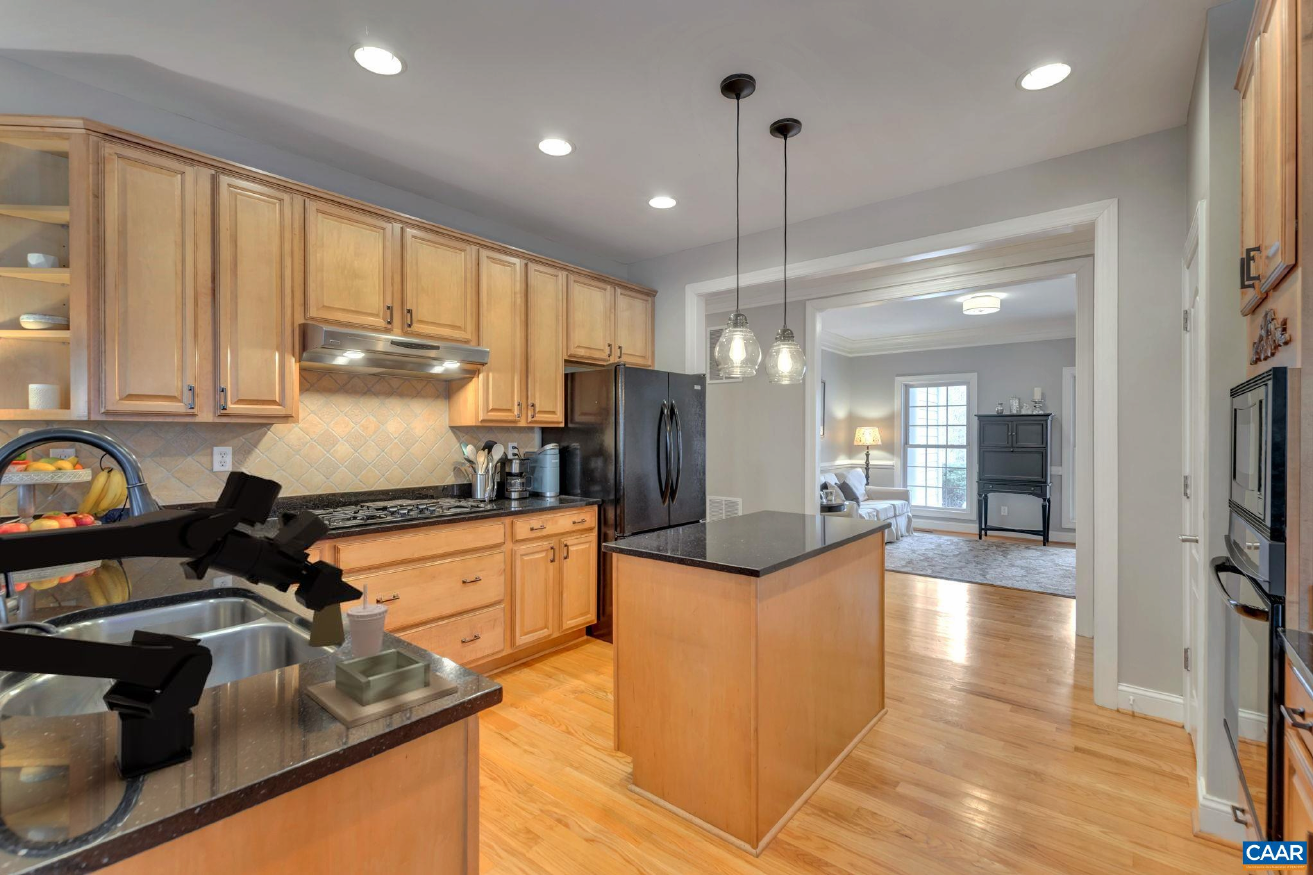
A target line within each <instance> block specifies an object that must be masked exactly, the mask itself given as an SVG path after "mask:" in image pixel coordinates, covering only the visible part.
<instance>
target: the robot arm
mask: <svg viewBox="0 0 1313 875" xmlns="http://www.w3.org/2000/svg"><path fill="white" fill-rule="evenodd" d="M282 489H283V485H282V484H280V483H279V482H277V481H276V480H274V479H270V478H268V479H267V478H264V477H262V476H258V475H254V474H249V473H247V472H244V471H240V470H232V471H230V472H229V473H228V476H227V478H226V481H225V485H224V487H223V489H222V491H221V493H220V495H219V497H218V498H217V500H216V502H215V505H214V507H208V506H207V507H206V506H205V507H204V506H198V507H194V508H190V509H186V510H182V509H169V508H168V509H167V508H166V509H165V508H164V509H158V510H155V511H149V512H145V513H141V514H138V515H136V514H135V515H134V516H130V517H128V518H125V519H124V520H121V521H116V522H112V523H105V524H94V525H81V526H70V527H69V526H68V527H58V528H48V529H37V530H36V529H35V530H27V531H26V530H25V531H14V532H4V533H3V532H2V533H0V575H2V574H7V573H8V574H9V573H16V572H25V571H31V570H37V569H46V568H52V567H61V566H62V567H63V566H68V565H75V564H82V563H88V562H89V563H90V562H97V561H98V562H99V561H105V560H111V559H118V558H119V559H120V558H125V557H126V558H127V557H139V558H140V557H143V558H171V559H175V558H176V559H180V558H181V559H186V560H183V561H180V563H179V567H181V568H182V570H183V571H182V572H183V575H184V578H185V580H187V581H202V580H203V579H204V578H205V576H206V574H207V571H208V570H212V571H215V572H219V573H223V574H226V575H230V576H234V577H237V578H240V579H243V580H245V581H246V582H248V583H249V584H253V585H256V586H259V584H261V585H265V586H268V587H269V586H270V587H272V588H274V589H275V590H277V591H279V592H281V593H284V594H286V593H287V592H288V591H289V589H290V587H291V586H293V585H298V586H297V588H296V589H295V591H294V593H293V595H294V597H295V600H296V603H298V604H299V605H301V606H303V608H305V609H307V610H311V611H313V612H314V611H318V612H320V611H321V610H323V609H324V608H325V607H327V606H331V605H334V604H339V603H340V604H344V603H348V602H353V601H358V600H361V598H363V590H362V591H361V589H358V587H357V588H356V587H355V586H353V585H351V584H350V583H348V582H346V581H345V580H343V578H342V577H343V573H344V572H343V571H344V569H343V568H341V567H339V566H337V565H335V564H333V563H330V562H328V561H325V560H322V559H319V560H317V561H314V562H311V561H309V560H308V559H309V557H310V555H311V553H309V552H307V551H308V550H309V549H310V548H311V547H312V546H313V545H315V544H316V543H317V542H318V541H319V540H320V539H321V538H323V537H325V536H326V535H327V534H328V533H329V532H330V530H331V527H330V526H329V525H328V524H327V523H326V522H325V521H324V520H323V519H321V518H320V517H319V516H318V515H317V514H316V513H315V512H313V511H310V510H308V509H304V510H302V509H299V510H298V511H297V513H296V512H293V511H291V510H286V509H285V510H283V511H282V512H281V513H280V514H278V515H277V517H276V518H277V521H278V525H279V526H278V528H277V531H278V532H277V533H276V534H275V535H274V536H273V537H272V536H268V535H265V534H264V535H263V536H261V535H260V536H258V535H255V534H251V533H248V532H245V531H243V530H250V531H251V530H254V529H255V527H256V525H257V526H260V527H264V526H265V525H266V524H267V522H268V519H269V517H270V514H271V512H272V510H273V508H274V506H275V504H276V502H277V500H278V497H279V496H280V493H281V491H282ZM236 528H241V529H243V530H240V529H236ZM201 641H202V639H201V638H196V637H191V636H190V637H189V636H184V635H183V636H182V635H178V634H169V633H159V632H154V631H153V632H151V631H145V630H139V629H134V632H133V635H132V638H131V640H129V641H125V642H116V643H115V642H106V641H99V640H90V639H89V640H88V639H81V638H74V637H64V636H56V635H48V634H39V633H31V632H23V631H13V630H7V629H6V630H5V629H0V672H11V673H12V672H13V673H25V674H39V675H51V676H52V675H53V676H68V677H69V676H70V677H80V678H81V677H82V678H98V679H109V680H110V679H111V680H114V681H115V682H114V683H113V684H112V685H111V686H110V688H108V690H107V691H106V692H105V693H104V695H102V700H103V701H104V704H105V706H106V708H107V710H108V712H109V711H111V712H117V733H116V735H117V736H116V738H117V739H116V740H117V742H116V743H117V745H116V747H117V750H116V755H114V756H113V761H114V762H113V763H114V764H115V766H116V769H117V772H118V774H119V777H120V779H121V780H122V779H128V778H132V777H136V776H139V775H141V774H144V773H148V772H151V771H154V770H157V769H160V768H163V767H167V766H171V765H173V764H177V763H180V762H183V761H187V760H189V759H191V758H193V752H192V749H191V748H193V747H194V746H195V713H194V711H193V710H192V708H194V707H196V706H198V705H199V703H200V700H201V698H202V695H203V692H204V689H205V686H206V683H207V680H208V677H209V675H210V673H211V671H212V667H213V655H212V649H210V648H209V647H208V646H204V645H202V644H199V643H201Z"/></svg>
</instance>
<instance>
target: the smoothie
mask: <svg viewBox="0 0 1313 875" xmlns="http://www.w3.org/2000/svg"><path fill="white" fill-rule="evenodd" d="M362 586H363V589H362V592H363V595H362V598H363V599H362V605H357V606H353V607H350V608H349V609H347V611H346V619H348V623H349V624H348V625H349V630H350V638H351V647H352V655H353V659H357V658H361V657H365V656H368V655H372V654H376V653H380V652H382V651H381V650H382V643H383V636H384V631H385V630H384V629H385V623H386V616H387V615H388V614H389V613H388V610H389V609H388V606H387V605H385V604H380V603H371V604H368V584H367V583H364V584H363V585H362Z"/></svg>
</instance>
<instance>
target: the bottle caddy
mask: <svg viewBox="0 0 1313 875" xmlns="http://www.w3.org/2000/svg"><path fill="white" fill-rule="evenodd" d="M334 678H335V679H332V680H329V681H325V682H321V683H318V684H313V685H310V686H307V687H306V695H307V696H308V697H309V698H311V699H312V700H314V701H315V703H317V704H318V705H319V706H321V707H322V708H323V709H325V710H326V711H327V712H328V713H329V714H331V715H332V716H333V717H334V718H335V719H337V720H338V721H339V722H341V723H342V724H343V725H344V726H346V728H348V729H352V728H355V727H358V726H361V725H363V724H367V723H370V722H372V721H376V720H378V719H382V718H384V717H387V716H390V715H393V714H396V713H399V712H402V711H405V710H408V709H411V708H415V707H416V706H420V705H422V704H426V703H429V702H431V701H434V700H438V699H440V698H443V697H446V696H449V695H453V694H455V693H458V692H459V684H457V683H455V682H453V681H452V680H451V681H450V680H449V679H448V678H445V677H443V676H442V675H440V674H438V673H436V672H434V671H432V670H431V662H429V661H427V660H425V659H424V658H421V657H420V656H418V655H416V654H414V653H412V652H410V651H408V650H406V649H404V648H402V647H397V648H393V649H389V650H385V651H381V652H380V653H376V654H372V655H368V656H365V657H361V658H357V659H354V658H353V659H349V660H345V661H341V662H339V663H338V662H337V663H335V677H334Z"/></svg>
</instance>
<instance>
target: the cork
mask: <svg viewBox="0 0 1313 875" xmlns="http://www.w3.org/2000/svg"><path fill="white" fill-rule="evenodd" d="M310 627H311V628H310V634H309V640H308V645H309V646H311V647H314V648H315V647H317V648H318V647H319V648H320V647H331V646H335V645H339V644H341V643H343V642H344V641H345V639H346V638H345V631H344V623H343V616H342V608H341V603H339V604H334V605H331V606H327V607H325V608H324V609H323V610H321V611H320V612H318V611H314V610H313V616H312V621H311V626H310Z"/></svg>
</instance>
